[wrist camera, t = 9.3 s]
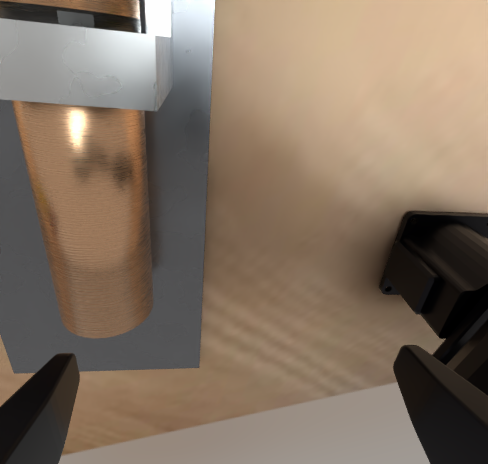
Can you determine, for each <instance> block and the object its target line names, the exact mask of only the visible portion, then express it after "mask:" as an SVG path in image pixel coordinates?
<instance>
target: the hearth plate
mask: <svg viewBox="0 0 488 464" xmlns="http://www.w3.org/2000/svg"><path fill="white" fill-rule="evenodd" d="M139 11H140V21H141V34H146V20H145V0H139ZM214 12H215V0H172V33H173V87H172V89H171V90H170V92H169V93H168V95H167V97H166V98H165V100H164V101H163V103H162V105H161V106H160V108H159V109H158V111H146V110H144V115H145V136H146V157H147V178H148V199H149V219H150V240H151V261H152V282H153V308H152V311H151V313H150V314H149V316H148V317H147V318H146V319H145V320H144V321H143V322H142V323H141V324H140V325H138V326H137V327H135V328H134V329H132V330H130V331H128V332H126V333H123V334H120V335H117V336H113V337H108V338H86V337H81V336H78V335H76V334H73V333H72V332H70V331H69V330H68V329H66V328H65V326H64V325H63V323H62V321H61V316H60V312H59V308H58V303H57V299H56V294H55V290H54V286H53V281H52V277H51V273H50V268H49V264H48V259H47V255H46V251H45V246H44V242H43V238H42V233H41V229H40V224H39V220H38V216H37V211H36V207H35V202H34V198H33V194H32V189H31V185H30V181H29V176H28V172H27V167H26V163H25V159H24V154H23V150H22V146H21V141H20V137H19V132H18V128H17V124H16V119H15V115H14V111H13V106H12V102H11V100H2V99H0V335H1V338H2V341H3V343H4V346H5V349H6V352H7V355H8V357H9V360H10V363H11V366H12V369H13V372H14V373H36V372H37V371H39V370H40V369H41V368H42V367H43V366H44V365H45V364H46V363H47V362H48V361H49V360H50V359H51V358H52V357H53V356H55V355H56V354H58V353H74V354H75V356H76V360H77V365H78V369H79V371H111V370H143V369H176V368H199V361H200V338H201V315H202V291H203V268H204V245H205V222H206V198H207V175H208V152H209V129H210V105H211V82H212V59H213V35H214Z"/></svg>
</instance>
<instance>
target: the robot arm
mask: <svg viewBox="0 0 488 464" xmlns="http://www.w3.org/2000/svg"><path fill="white" fill-rule="evenodd" d="M413 218H415V219H414V220H413V221H411V220H412V219H413ZM386 287H387V288H386ZM379 289H380V290H381V292H382V293H383V294H386V295H401V296H402V297H403V298H404V300H405V301H406V302H407V304H408V305H409V306H410V307H411V309H412V310H413V311H414V312H415V313H416V314H421V316H422V317H423V318H424V319H425V321H426V322H427V323H428V324H429V326H430V327H431V328H432V329H433V331H434V332H435V333H436V334H437V336H438V337H439V338H441V339H445V338H446V340H445V341H444V342H443V343H442V344H441V345H440V346H439V348H438V349H437V350H436V351H435V352H434V353H433V355H430V354H429V353H428V352H426V351H425V350H423V349H422V348H421V347H419V346H417V345H404V346H402V347H401V349H400V351H399V353H398V355H397V358H396V360H395V362H394V366H393V369H394V374H395V377H396V379H397V382H398V385H399V388H400V391H401V393H402V396H403V399H404V402H405V405H406V408H407V410H408V413H409V416H410V419H411V421H412V424H413V426H414V428H415V431H416V433H417V436H418V438H419V440H420V442H421V444H422V446H423V448H424V451H425V453H426V455H427V457H428V459H429V462H430V464H488V214H468V213H442V212H417V211H413V212H409V213H407V214H406V215H405V217H404V219H403V222H402V224H401V227H400V230H399V233H398V236H397V238H396V241H395V244H394V245H393V248H392V251H391V254H390V256H389V259H388V262H387V265H386V268H385V270H384V274H383V277H382V280H381V282H380V285H379ZM79 380H80V374H79V369H78V365H77V360H76V356H75V354H74V353H58V354H56V355H55V356H53V357H52V358H51V359H50V360H49V361H48V362H47V363H46V364H45V365H44V366H43V367H42V368H41V369H40V370H39V371H37V372H36V373H35V374H34V375H33V376H32V377H31V378H30V379H29V380H28V381H27V382H26V383H25V384H24V385H23V386H22V387H21V388H20V389H18V390H17V391H16V392H15V393H14V394H13V395H12V396H11V397H10V398H9V399H8V400H7V401H6V402H5V403H4V404H3V405H2V406H0V464H58V463H59V460H60V457H61V454H62V451H63V448H64V444H65V440H66V436H67V432H68V428H69V424H70V419H71V415H72V411H73V407H74V402H75V398H76V394H77V390H78V386H79Z"/></svg>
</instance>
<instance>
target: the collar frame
mask: <svg viewBox="0 0 488 464" xmlns="http://www.w3.org/2000/svg"><path fill="white" fill-rule="evenodd" d="M145 20H146V34H141V33H132V32H123V31H114V30H104V29H95V28H86V27H77V26H67V25H58V24H49V23H40V22H30V21H21V20H12V19H3V18H0V99H2V100H15V101H28V102H41V103H54V104H67V105H80V106H93V107H106V108H119V109H132V110H146V111H158V109H159V108H160V106H161V105H162V103H163V101H164V100H165V98H166V97H167V95H168V93H169V92H170V90H171V89H172V87H173V33H172V0H145Z"/></svg>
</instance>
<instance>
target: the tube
mask: <svg viewBox="0 0 488 464" xmlns="http://www.w3.org/2000/svg"><path fill="white" fill-rule="evenodd" d="M0 18H3V19H12V20H21V21H30V22H40V23H49V24H58V25H67V26H77V27H86V28H95V29H104V30H114V31H123V32H132V33H141V21H140V11H139V0H0ZM11 102H12V106H13V111H14V115H15V119H16V124H17V128H18V132H19V137H20V141H21V146H22V150H23V154H24V159H25V163H26V167H27V172H28V176H29V181H30V185H31V189H32V194H33V198H34V202H35V207H36V211H37V216H38V220H39V224H40V229H41V233H42V238H43V242H44V246H45V251H46V255H47V259H48V264H49V268H50V273H51V277H52V281H53V286H54V290H55V294H56V299H57V303H58V308H59V312H60V316H61V321H62V323H63V325H64V326H65V328H66V329H68V330H69V331H70V332H72V333H73V334H76V335H78V336H81V337H86V338H108V337H113V336H117V335H120V334H123V333H126V332H128V331H130V330H132V329H134V328H135V327H137V326H138V325H140V324H141V323H142V322H143V321H144V320H145V319H146V318H147V317H148V316H149V314H150V313H151V311H152V308H153V282H152V261H151V240H150V219H149V199H148V178H147V157H146V136H145V115H144V110H132V109H119V108H106V107H93V106H80V105H67V104H54V103H41V102H28V101H15V100H11Z"/></svg>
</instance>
